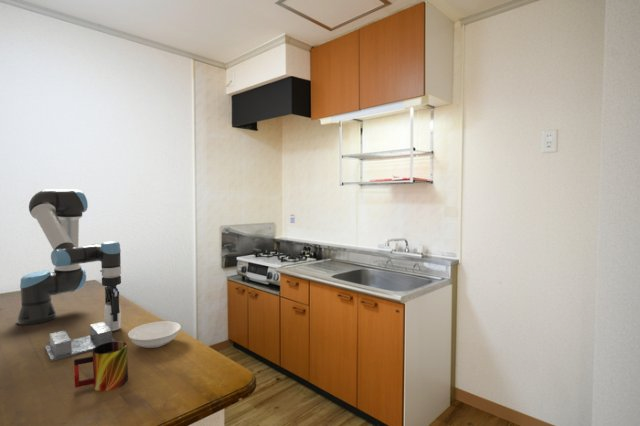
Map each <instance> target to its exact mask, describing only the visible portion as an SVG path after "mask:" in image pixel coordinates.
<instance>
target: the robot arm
mask: <svg viewBox="0 0 640 426" xmlns="http://www.w3.org/2000/svg"><path fill="white" fill-rule="evenodd" d="M88 207H89V204H88V199H87V197H86V195H85V193H84V192H83V191H82V190H79V189H44V190H41V191H38V192H37V193H35V194H34V195H33V196H32V197H31V198H30V201H29V202H28V210H29V211H28V212H29V214H30V215H31V217H32V218H33V219H35V220H36V221H37V223H38V224H39V227H40V228H41V229H42V232H43V233H44V235H45V238H46V239H47V242H48V243H49V244H50V247H51V248H52V249H53V250H52V251H51V253H50V260H51V263H52V265H53V267H54V270H53V272H51V271H50V270H38V271H33V272H30V273H27V274H25V275H23V276H22V277H21V278H20V285H19V287H20V303H21V307H20V310H19V313H18V316H17V319H16V321H17V324H18V325H21V326H24V325H25V326H27V325H29V326H30V325H36V324H42V323H45V322H49V321H51V320H54V319H55V318H57V310H56V309H55V306H54V304H53V302H52V296H56V295H63V294H66V293H73V292H76V291H80V290H82V289H83V288H84V287H85V285H86V281H87V274H86V270H85V269H84V268H82V265H81V264H87V263H94V262H101V263H100V264H101V265H100V267H101V269H100V270H99V271H100V273H101V286H102V287H104V295H105V296H104V301H105V302H104V303H105V304H106V303H108V302H110V303H111V312H112V314H110V315H111V329H114V328H118V313H120V309H119V304H120V291H119V290H118V288H117V286H118V285H120V284H122V266H121V264H122V263H121V259H122V257H121V252H122V251H121V243H120V242H118V241H104V242H101V243H93V244H90V245H84V246H79V236H80V235H79V233H80V231H79V230H80V229H79V227H80V219H81V218H82V217H83V213H85V212H86V211H88ZM105 304H104V305H105Z"/></svg>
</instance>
